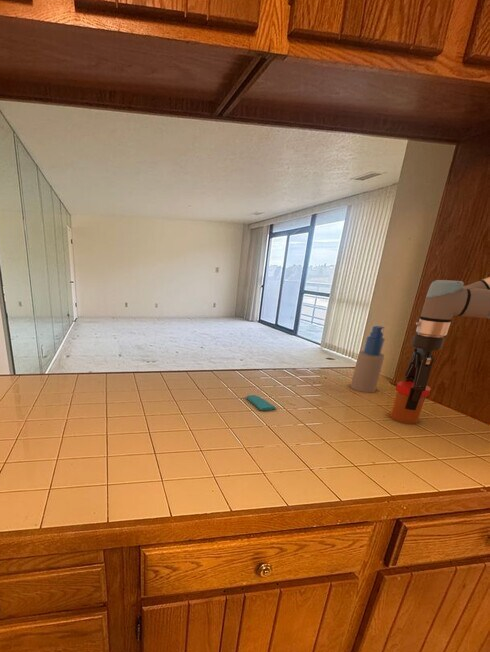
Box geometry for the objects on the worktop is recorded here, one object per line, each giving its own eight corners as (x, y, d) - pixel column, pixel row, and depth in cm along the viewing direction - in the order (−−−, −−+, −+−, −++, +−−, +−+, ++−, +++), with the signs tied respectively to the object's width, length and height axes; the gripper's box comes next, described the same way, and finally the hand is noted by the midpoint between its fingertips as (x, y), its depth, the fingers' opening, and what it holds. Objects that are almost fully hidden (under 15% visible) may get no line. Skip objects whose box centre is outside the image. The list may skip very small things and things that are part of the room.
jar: (422, 421, 112) (433, 390, 108) (406, 425, 109) (417, 392, 105) (400, 412, 119) (409, 382, 114) (384, 415, 116) (393, 384, 112)
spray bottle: (380, 390, 138) (397, 327, 129) (364, 393, 135) (381, 329, 125) (360, 383, 146) (375, 323, 136) (345, 386, 143) (360, 325, 133)
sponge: (260, 394, 129) (246, 393, 127) (276, 407, 118) (261, 406, 117) (259, 398, 129) (245, 397, 128) (275, 411, 119) (260, 410, 117)
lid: (393, 385, 116) (395, 379, 115) (425, 390, 113) (427, 383, 112) (397, 394, 108) (399, 387, 107) (431, 399, 105) (434, 392, 104)
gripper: (408, 327, 114) (389, 391, 123) (423, 340, 96) (399, 414, 104) (435, 329, 111) (414, 395, 120) (456, 343, 93) (429, 419, 102)
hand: (407, 403), depth 112 cm, fingers closed on lid, 9 cm apart
